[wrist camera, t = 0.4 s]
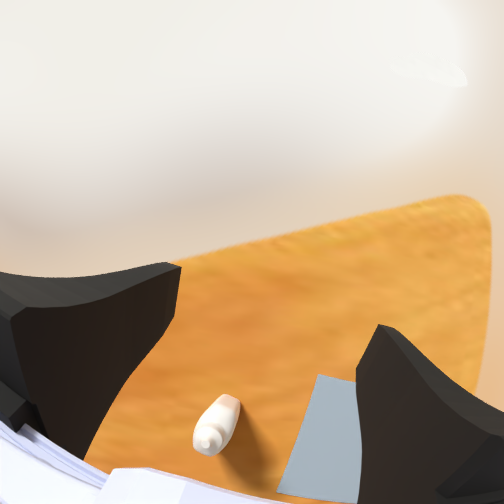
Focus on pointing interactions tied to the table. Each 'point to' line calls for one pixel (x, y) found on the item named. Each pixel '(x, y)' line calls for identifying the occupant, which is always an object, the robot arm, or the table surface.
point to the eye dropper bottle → (216, 425)
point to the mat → (327, 446)
